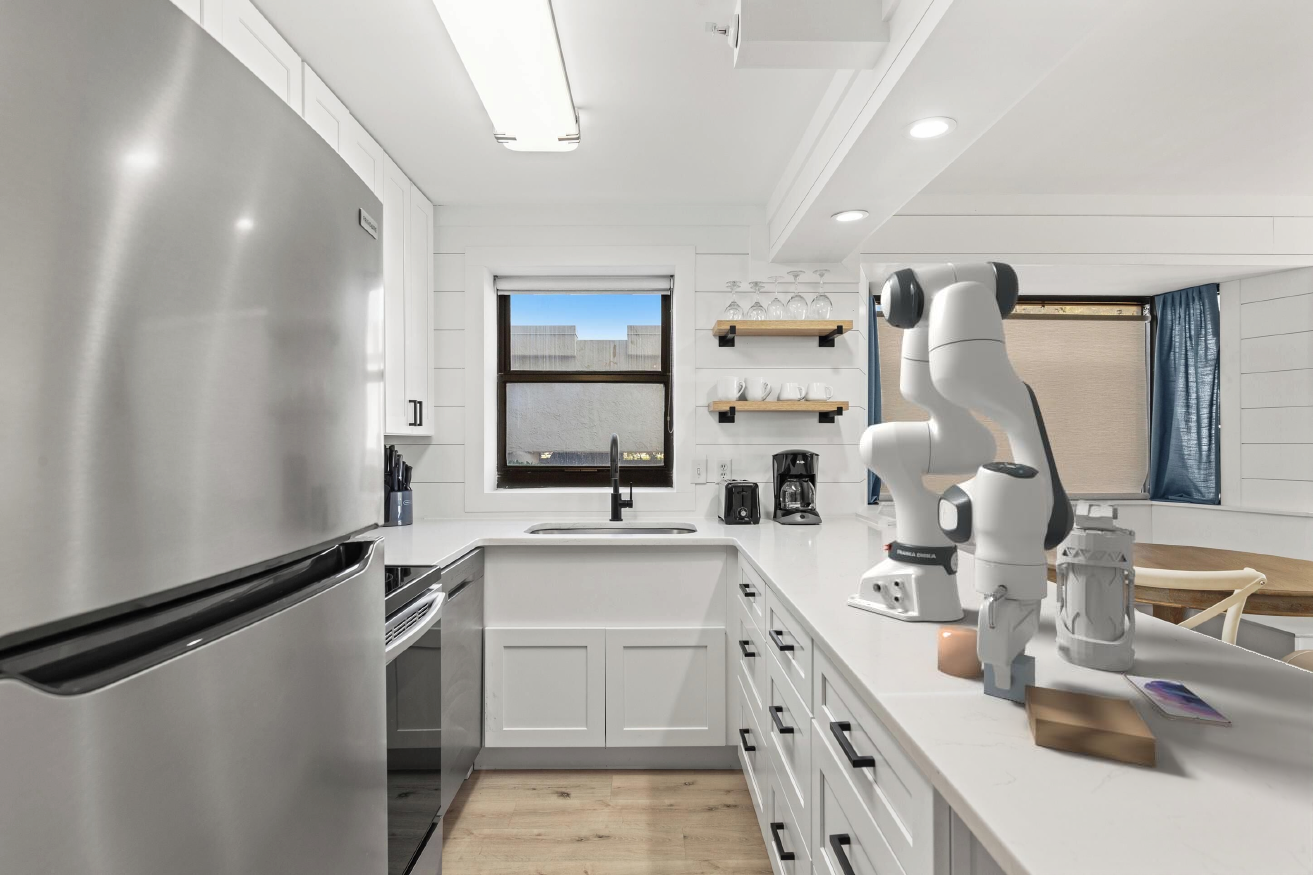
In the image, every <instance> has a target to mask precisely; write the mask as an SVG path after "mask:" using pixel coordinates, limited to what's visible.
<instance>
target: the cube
mask: <svg viewBox="0 0 1313 875" xmlns="http://www.w3.org/2000/svg"><path fill="white" fill-rule="evenodd" d="M1011 674H1012V686H1011V687H1010V689H1009V690H1005V689H1001V688H998V687H996V685H995V672H994V669H993V665H992V664H988V663H984V662H983V694H987V695H991V696H994V697H998V698H1000V699H1005V698H1006V700H1008V699H1009V701H1012V700H1013V702H1016V701H1017V702H1016V703H1019V702H1021V703H1020V704H1023V703H1024V704H1023V705H1025V685H1030V686H1036V657H1035V656H1032V655H1027V654H1018V655H1017V656H1016V657H1015V659H1014V660H1013V661H1012V664H1011Z"/></svg>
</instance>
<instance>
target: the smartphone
mask: <svg viewBox="0 0 1313 875" xmlns="http://www.w3.org/2000/svg"><path fill="white" fill-rule="evenodd" d="M1122 678H1123V680H1124V681H1125V682H1126V683H1127V684H1128V685H1129V686H1131V687H1132V688H1133V689H1134V690H1135V691H1136V692H1137V693H1138V694H1139V695H1140V696H1141V697H1142V698H1143V699H1144V700H1146V701H1147V702H1148V703H1149V704H1150V706H1152V708H1154V710H1156V712H1158V713H1159V714H1160V715H1161V716H1162V717H1163V718H1165V719H1168V720H1171V719H1172V720H1171V721H1180V722H1187V723H1193V724H1194V723H1196V724H1204V725H1211V726H1217V727H1225V728H1226V727H1227V728H1233V722H1231V721H1230V720H1229V719H1228V718H1226V717H1225V716H1224V715H1222V714H1221V713H1220V712H1218V710H1216V708H1213V707H1212V706H1211V705H1210V704H1209V703H1207V702H1206V701H1204V699H1202V698H1201V697H1199V696H1198V695H1197V694H1195V693H1194V692H1193V691H1192V690H1190V689H1189V688H1187V686H1185V685H1184V684H1182V683H1181V682H1180V681H1176V680H1171V679H1162V678H1155V677H1154V678H1153V677H1145V676H1140V675H1139V676H1137V675H1131V674H1123V676H1122Z"/></svg>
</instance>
